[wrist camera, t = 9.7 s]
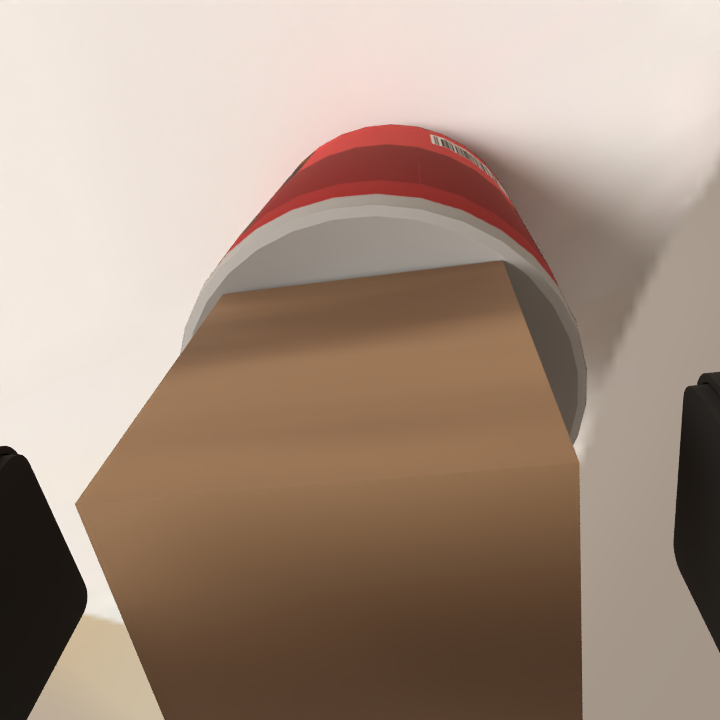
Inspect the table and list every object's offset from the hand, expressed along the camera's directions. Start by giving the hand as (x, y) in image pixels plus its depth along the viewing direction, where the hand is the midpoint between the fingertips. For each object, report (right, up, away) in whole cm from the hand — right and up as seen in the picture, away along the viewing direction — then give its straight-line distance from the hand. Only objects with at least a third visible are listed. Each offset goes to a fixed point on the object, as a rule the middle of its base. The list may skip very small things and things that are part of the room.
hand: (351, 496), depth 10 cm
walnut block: (0, +1, +3) cm, 4 cm away
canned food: (+1, +6, +13) cm, 15 cm away
